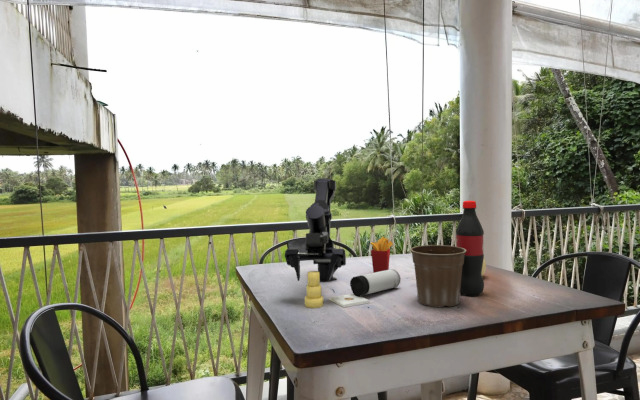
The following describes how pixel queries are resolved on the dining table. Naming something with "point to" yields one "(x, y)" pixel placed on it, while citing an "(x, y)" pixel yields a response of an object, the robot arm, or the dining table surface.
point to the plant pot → (438, 274)
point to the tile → (349, 300)
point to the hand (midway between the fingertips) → (313, 280)
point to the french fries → (381, 255)
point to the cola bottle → (471, 250)
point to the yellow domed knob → (313, 291)
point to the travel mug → (374, 282)
